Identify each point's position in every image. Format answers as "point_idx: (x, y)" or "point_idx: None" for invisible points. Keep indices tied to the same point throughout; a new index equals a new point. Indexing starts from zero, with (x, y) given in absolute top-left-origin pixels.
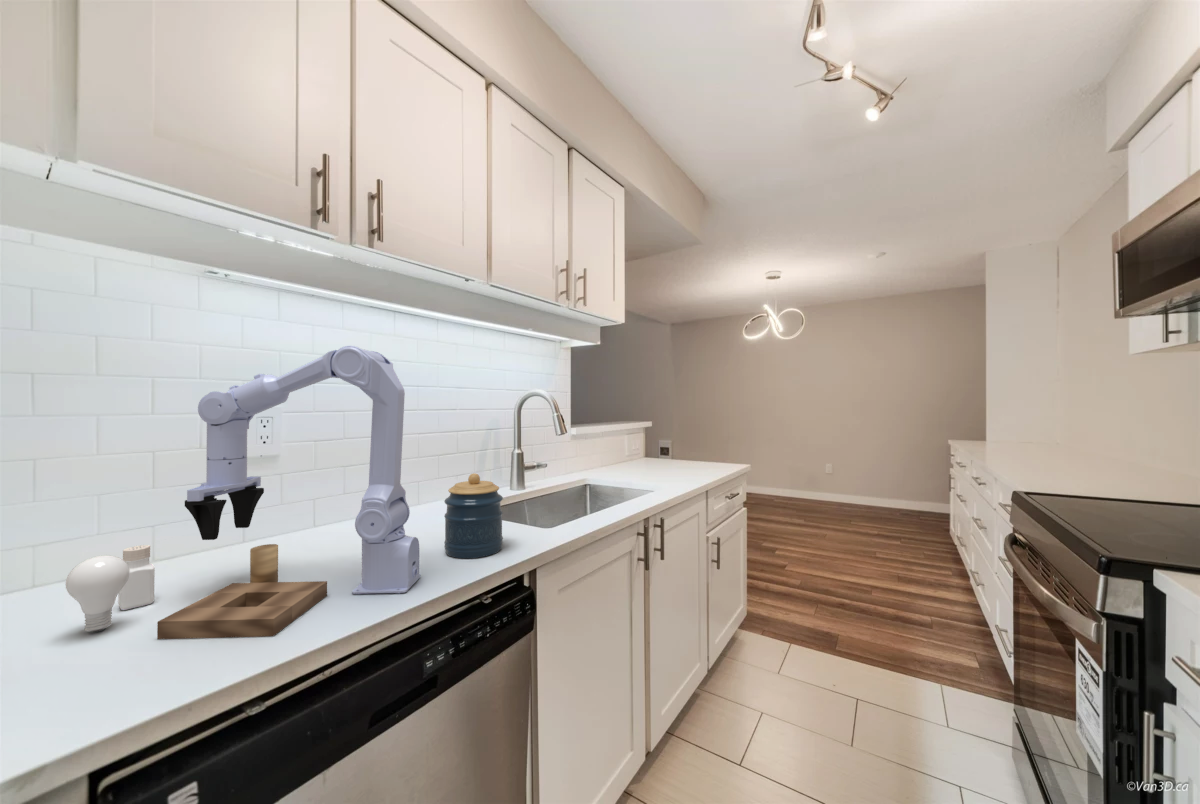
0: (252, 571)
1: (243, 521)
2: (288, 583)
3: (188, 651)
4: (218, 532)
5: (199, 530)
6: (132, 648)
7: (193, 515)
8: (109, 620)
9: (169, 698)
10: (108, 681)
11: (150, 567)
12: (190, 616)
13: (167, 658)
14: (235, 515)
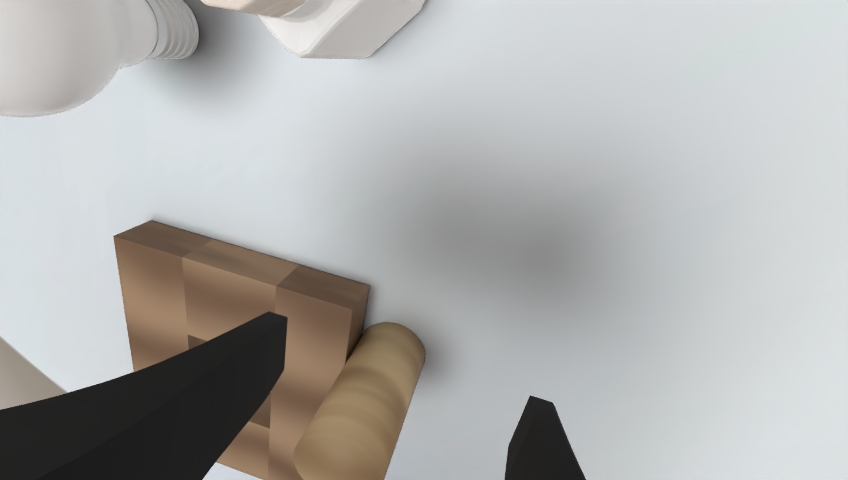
0: (333, 384)
1: (516, 468)
2: None
3: (116, 300)
4: (260, 401)
5: (220, 336)
6: (115, 191)
7: (81, 397)
8: (169, 57)
9: (15, 329)
10: (25, 224)
11: (294, 42)
12: (141, 294)
13: (93, 278)
14: (538, 471)
